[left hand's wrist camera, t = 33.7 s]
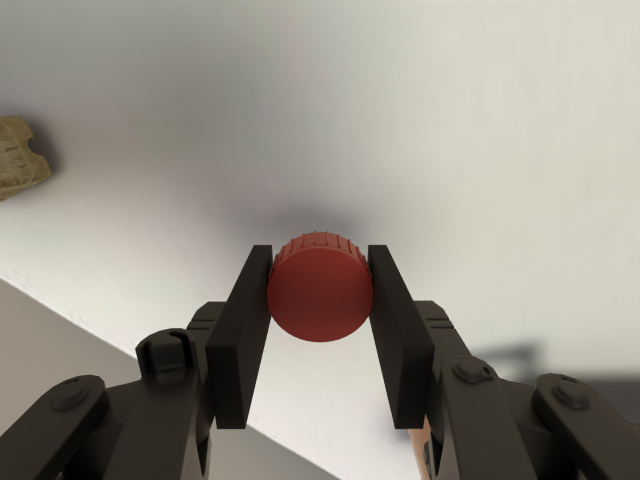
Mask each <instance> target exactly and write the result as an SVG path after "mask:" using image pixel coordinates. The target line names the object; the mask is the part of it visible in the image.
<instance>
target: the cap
mask: <svg viewBox="0 0 640 480" xmlns="http://www.w3.org/2000/svg"><path fill="white" fill-rule="evenodd" d="M268 279H269V281H268V284H267V304H268V309H269V311H270V313H271V315H272V317H273V319H274V320H275V321H276V323H277V324H278V325H279V326H280V327H281V328H282V329H283V330H285V331H286V332H287V333H289V334H291V335H292V336H294V337H297V338H299V339H302V340H306V341H311V342H329V341H334V340H338V339H341V338H344V337H346V336H348V335H350V334H351V333H353V332H354V331H356V330H357V329H358V328H359V327H360V326H361V325H362V324H363V323H364V322H365V321H366V319H367V317H368V316H369V314H370V312H371V309H372V306H373V292H374V288H373V284H372V276H371V272H370V269H369V266H368V265H367V261H366V258H365V255H362V253H361V252H360V251H359V247H358V246H357V247H356V246H355V245H354V244H352V243H351V242H350V240H349V239H348V240H347V239H345V238H343V237H341V236H340V235H339V234H338V235H335V234H331V233H328V232H326V233H323V232H318V233H316V231H314V233H310V234H305V235H304V234H302V236H300V237H297V238H295V239H291V241H290V242H289V243H288V244H287V245H285V246H283V247H282V250H281V251H280V252H279V254H276V256H275V260H274V263H273V264H272V266H271V269H270V272H269V276H268Z"/></svg>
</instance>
